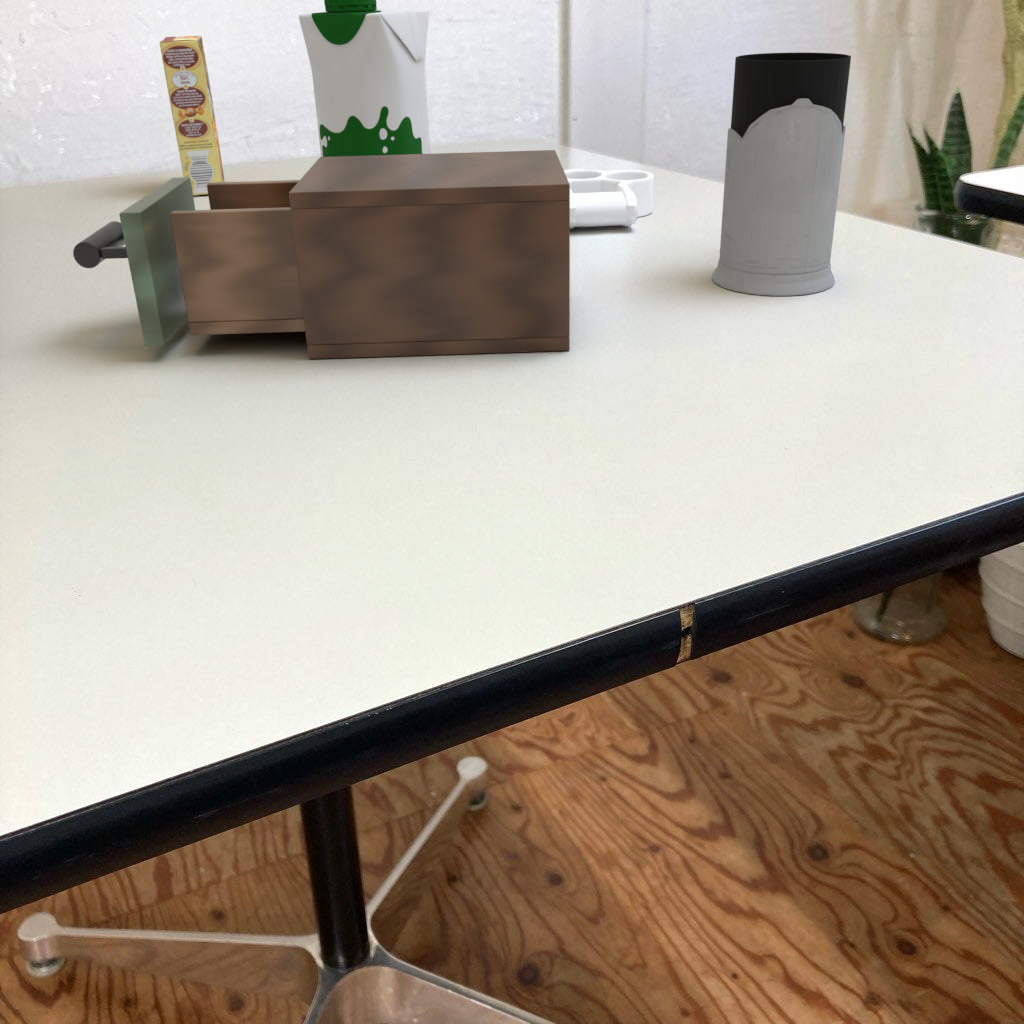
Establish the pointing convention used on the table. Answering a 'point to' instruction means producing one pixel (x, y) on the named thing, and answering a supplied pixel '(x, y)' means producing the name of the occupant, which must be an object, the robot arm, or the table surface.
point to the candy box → (192, 110)
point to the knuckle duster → (609, 196)
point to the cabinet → (433, 254)
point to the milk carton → (368, 78)
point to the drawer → (207, 259)
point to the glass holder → (782, 173)
